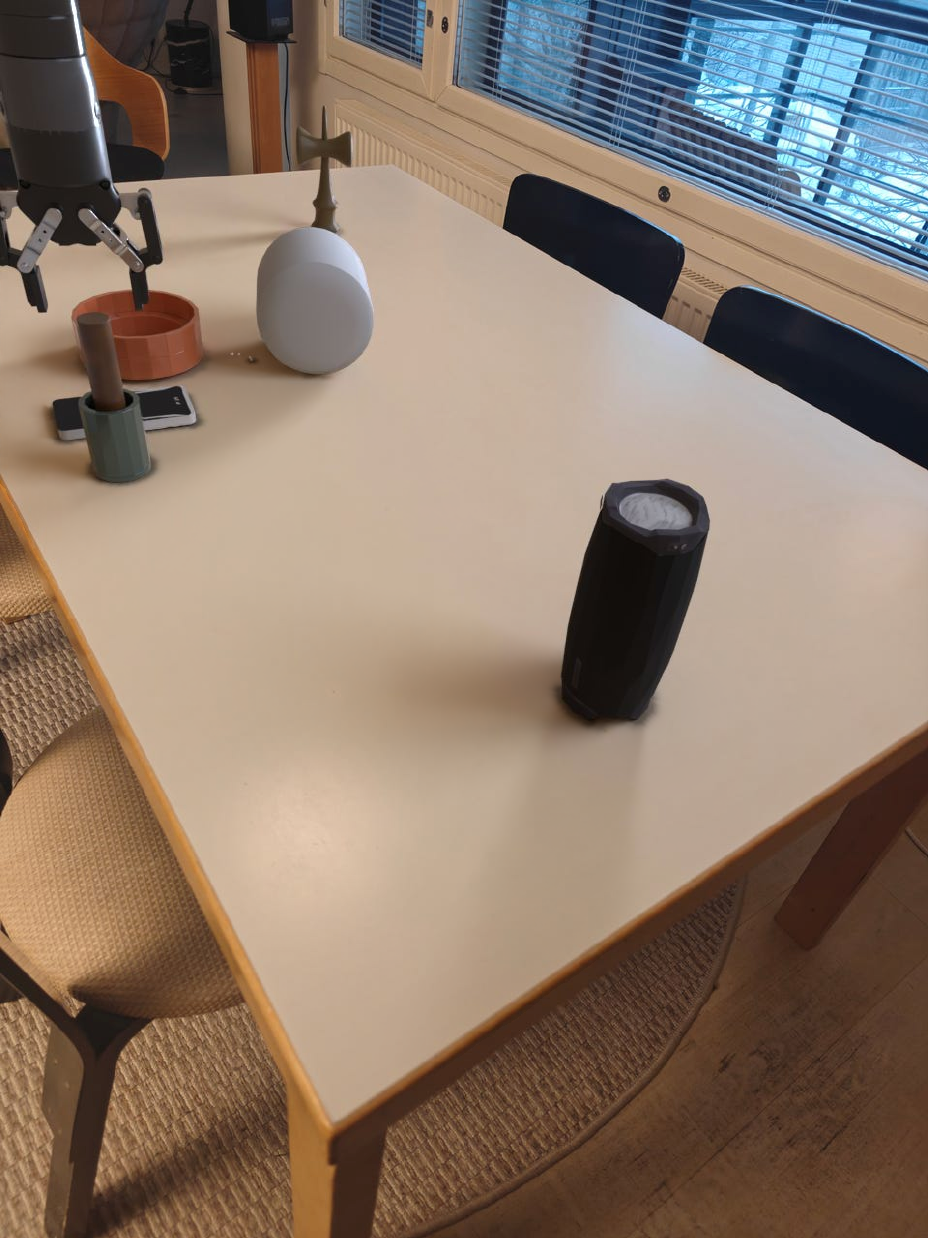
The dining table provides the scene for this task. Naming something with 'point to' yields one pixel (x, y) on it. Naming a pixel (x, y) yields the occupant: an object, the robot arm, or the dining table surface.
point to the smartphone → (156, 406)
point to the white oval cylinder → (313, 301)
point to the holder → (116, 439)
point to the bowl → (148, 333)
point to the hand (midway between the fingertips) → (91, 308)
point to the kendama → (324, 168)
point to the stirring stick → (101, 361)
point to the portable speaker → (632, 596)
